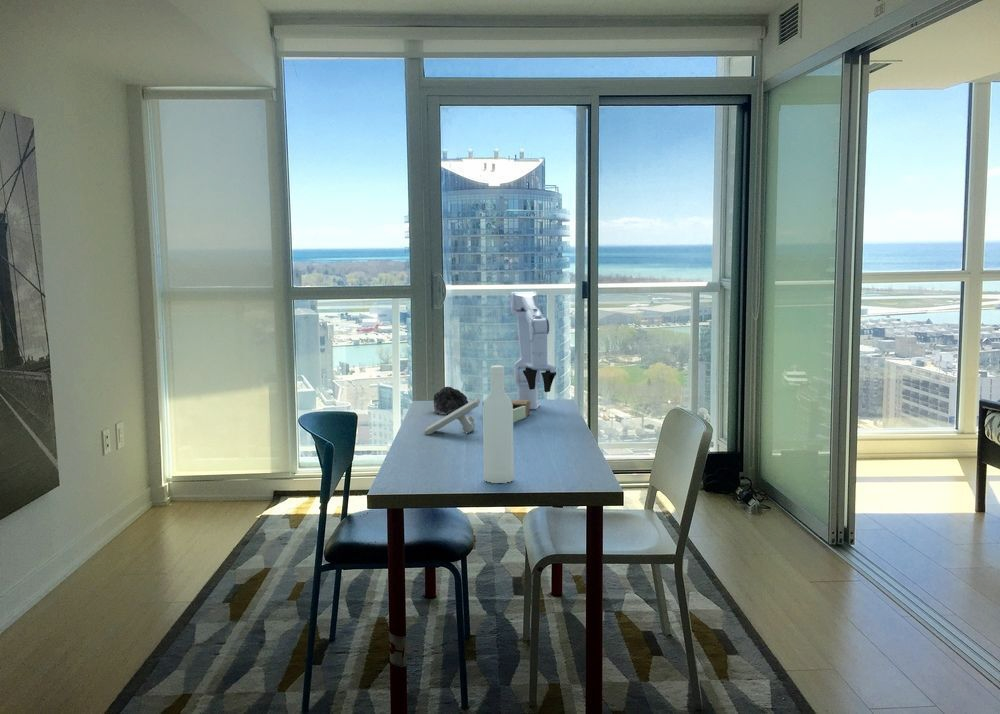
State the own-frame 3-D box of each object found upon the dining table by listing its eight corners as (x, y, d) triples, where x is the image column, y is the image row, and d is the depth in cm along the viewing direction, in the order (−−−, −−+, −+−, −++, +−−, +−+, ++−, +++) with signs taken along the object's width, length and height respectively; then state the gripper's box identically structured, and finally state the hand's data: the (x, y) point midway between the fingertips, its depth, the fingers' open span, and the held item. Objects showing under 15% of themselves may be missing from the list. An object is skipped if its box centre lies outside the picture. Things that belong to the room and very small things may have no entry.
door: (501, 425, 278) (501, 413, 278) (524, 416, 291) (524, 405, 291) (506, 425, 277) (506, 413, 277) (529, 417, 290) (529, 405, 290)
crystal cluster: (467, 417, 298) (469, 390, 298) (430, 414, 299) (432, 387, 298) (469, 413, 312) (471, 387, 311) (434, 410, 312) (435, 384, 311)
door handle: (437, 452, 269) (489, 422, 266) (424, 431, 268) (476, 401, 265) (444, 438, 286) (492, 410, 283) (431, 419, 285) (480, 390, 282)
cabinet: (487, 412, 302) (486, 399, 301) (529, 414, 298) (529, 400, 298) (482, 416, 295) (482, 402, 294) (526, 417, 292) (526, 403, 291)
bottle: (520, 480, 212) (518, 366, 209) (495, 486, 208) (493, 369, 204) (502, 474, 219) (500, 363, 215) (477, 479, 214) (475, 366, 211)
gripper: (516, 351, 291) (517, 389, 293) (545, 355, 280) (546, 394, 282) (531, 350, 296) (531, 387, 297) (560, 353, 285) (560, 391, 287)
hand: (539, 390), depth 290 cm, fingers open, 7 cm apart
